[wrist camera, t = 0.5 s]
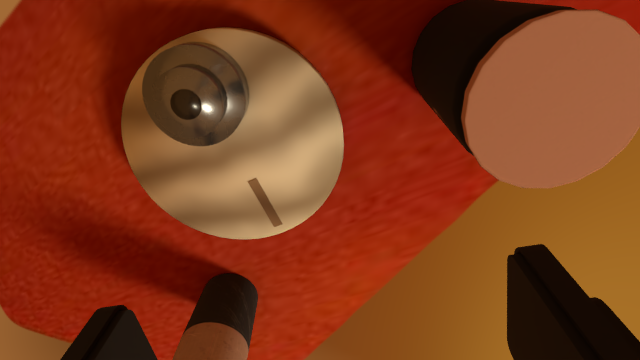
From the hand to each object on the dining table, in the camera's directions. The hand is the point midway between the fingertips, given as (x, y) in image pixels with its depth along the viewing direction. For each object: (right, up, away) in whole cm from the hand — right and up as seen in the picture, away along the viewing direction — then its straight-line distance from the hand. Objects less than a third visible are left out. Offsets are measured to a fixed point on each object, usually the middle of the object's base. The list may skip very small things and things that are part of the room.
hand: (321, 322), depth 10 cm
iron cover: (-11, +12, +28) cm, 32 cm away
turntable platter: (-9, +8, +32) cm, 34 cm away
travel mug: (-12, -12, +43) cm, 46 cm away
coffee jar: (+14, +16, +30) cm, 36 cm away
